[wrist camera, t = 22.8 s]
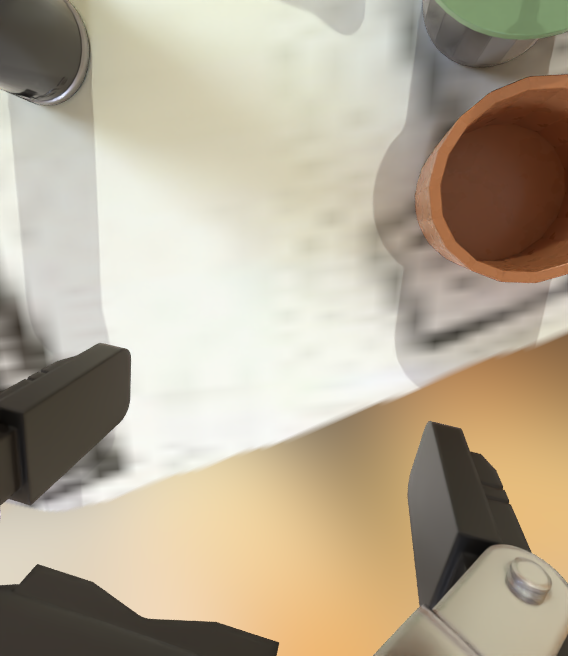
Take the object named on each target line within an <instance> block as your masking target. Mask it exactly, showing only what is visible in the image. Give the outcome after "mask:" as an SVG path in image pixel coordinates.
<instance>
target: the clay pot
mask: <svg viewBox="0 0 568 656" xmlns="http://www.w3.org/2000/svg"><path fill="white" fill-rule="evenodd" d="M415 208H416V215H417V221H418V223H419V225H420V228H421V230H422V232H423V234H424V236H425V238H426V239H427V241H428V242H429V244H430V245H431V246H432V247H433V248H434V249H435V250H436V251H438V252H439V253H440V254H441V255H442V256H444V257H445V258H446V259H447V260H450V261H452V262H454V263H456V264H458V265H460V266H462V267H465V268H467V269H469V270H471V271H474V272H476V273H479V274H482V275H484V276H487V277H489V278H492V279H495V280H497V281H500V282H519V283H538V282H542V281H545V280H549V279H552V278H556V277H559V276H563V275H566V274H568V74H564V75H547V76H530V77H526V78H524V79H521V80H519V81H516V82H514V83H512V84H509V85H507V86H504V87H502V88H499V89H497V90H494V91H492V92H491V93H489V94H487V95H486V96H485V97H484V98H483V99H481V100H480V101H479V102H478V103H477V104H475V105H474V106H473V107H472V108H471V109H469V110H468V111H467V112H466V113H465V114H463V115H462V116H461V117H460V118H459V119H458V120H457V121H456V123H455V124H454V125H453V126H452V127H451V129H450V130H449V131H448V132H447V134H446V135H445V136H444V137H443V138H442V140H441V141H440V142H439V143H438V145H437V146H436V147H435V149H434V150H433V152H432V154H431V155H430V156H429V158H428V160H427V161H426V163H425V164H424V166H423V168H422V170H421V173H420V177H419V180H418V183H417V188H416V193H415Z"/></svg>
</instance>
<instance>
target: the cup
mask: <svg viewBox="0 0 568 656" xmlns="http://www.w3.org/2000/svg"><path fill="white" fill-rule="evenodd" d="M423 17H424V22H425V26H426V29H427V32H428V34H429V36H430V38H431V40H432V42H433V43H434V45H435V46H436V47H437V48H438V49H439V51H440V52H441V53H442V54H444V55H445V56H446V57H448V58H449V59H451V60H453V61H455V62H457V63H459V64H462V65H466V66H471V67H489V66H494V65H499V64H502V63H504V62H507V61H509V60H511V59H513V58H516V57H517V56H519V55H520V54H522V53H524V52H525V51H526V50H528V49H529V48H530V47H531V46H533V45H534V44H535V43H536V42H537V41H538V40H539V39H540V38H537V39H527V40H518V39H504V38H498V37H493V36H489V35H486V34H483V33H480V32H477V31H474V30H472V29H470V28H469V27H467V26H465V25H463V24H461V23H459V22H458V21H457V20H455V19H454V18H453V17H452V16H450V15H449V14H448V13H446V12H445V11H444V10H443V8H442V7H441V6H440V5H439V4H438V3H437V2H436V1H435V0H423Z"/></svg>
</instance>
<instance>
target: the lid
mask: <svg viewBox="0 0 568 656" xmlns="http://www.w3.org/2000/svg"><path fill="white" fill-rule="evenodd" d="M435 1H436V2H437V3H438V4H439V5H440V6H441V7H442V8H443V10H444V11H445V12H446V13H448V14H449V15H450V16H452V17H453V18H454V19H455V20H457V21H458V22H459V23H461V24H463V25H465V26H467V27H469V28H470V29H472V30H474V31H477V32H480V33H483V34H486V35H489V36H493V37H498V38H504V39H518V40H527V39H537V38H545V37H549V36H553V35H558V34H562V33H565V32H568V0H435Z"/></svg>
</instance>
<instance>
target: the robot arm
mask: <svg viewBox="0 0 568 656" xmlns="http://www.w3.org/2000/svg"><path fill="white" fill-rule="evenodd" d="M88 63H89V41H88V36H87V32H86V29H85V26H84V23H83V21H82V19H81V17H80V15H79V13H78V12H77V10H76V9H75V8H74V6H73V5H72V4H71V3H70V2H69V1H68V0H0V89H2V90H4V91H6V92H9V93H11V94H13V93H14V94H13V95H15V94H16V95H15V96H17V95H19V96H18V97H20V96H21V97H20V98H22V97H23V98H22V99H24V98H25V100H27V101H29V102H31V101H32V103H34V102H35V103H34V104H36V103H38V104H42V105H55V104H59V103H62V102H64V101H66V100H67V99H69V98H70V97H71V96H72V95H73V94H74V93H75V92H76V91H77V90H78V89H79V87H80V86H81V84H82V82H83V80H84V78H85V75H86V72H87V68H88ZM38 104H37V105H38ZM130 381H131V355H130V352H129V350H128V349H125V348H120V347H116V346H112V345H108V344H104V343H99V344H97V345H95V346H93V347H91V348H90V349H88V350H86V351H84V352H83V353H81V354H79V355H77V356H74V357H70V358H67V359H63V360H60V361H57V362H55V363H53V364H51V365H49V366H48V367H46V368H44V369H42V370H41V372H37V373H35V374H33V375H31V376H29V377H28V379H27V380H26V379H24V380H22V381H20V382H18V383H17V384H15V385H13V386H11V387H9V388H8V389H6V390H4V391H2V392H0V505H1V504H3V503H4V502H5V501H6V500H7V499H11V500H14V501H18V502H21V503H24V504H28V505H32V504H33V503H34V502H35V501H36V500H37V499H38V498H39V497H40V496H41V495H42V494H43V493H44V492H46V491H47V490H48V489H49V488H50V487H51V486H52V485H53V484H54V483H55V482H56V481H57V480H58V479H60V478H61V477H62V476H63V475H64V474H65V473H66V472H67V471H68V470H69V469H70V468H71V467H72V466H74V465H75V464H76V463H77V462H78V461H79V460H80V459H81V458H82V457H83V456H84V455H85V454H86V453H88V452H89V451H90V450H91V449H92V448H93V447H94V446H95V445H96V444H97V443H98V442H99V441H100V440H102V439H103V438H104V437H105V436H106V435H107V434H108V433H109V432H110V431H111V430H112V429H113V428H114V427H116V426H117V425H118V424H119V423H120V422H121V421H122V419H123V418H124V416H125V415H126V413H127V410H128V407H129V403H130ZM408 505H409V514H410V523H411V532H412V541H413V550H414V560H415V569H416V578H417V587H418V596H419V605H420V607H419V608H418V609H417V610H416V611H415V612H414V613H413V614H412V615H411V616H410V617H409V618H408V619H407V620H406V621H405V622H404V623H403V624H402V625H401V627H400V628H399V629H398V630H397V631H396V632H395V633H394V634H393V635H392V636H391V637H390V638H389V639H388V640H387V641H386V642H385V644H383V646H382V647H381V648H380V649H379V650H378V651H377V652H376V653H375V654H374V655H373V656H568V583H567V582H566V581H565V580H564V579H563V577H562V576H561V575H560V574H559V573H558V572H557V571H556V570H555V569H553V568H552V567H551V566H550V565H549V564H548V563H546V562H545V561H544V560H542V559H541V558H539V557H537V556H536V555H534V554H532V553H531V550H530V548H529V546H528V543H527V541H526V539H525V536H524V534H523V532H522V530H521V527H520V525H519V522H518V520H517V518H516V515H515V513H514V511H513V509H512V506H511V505H510V504H509V499H508V497H507V495H506V492H505V490H503V485H502V483H501V481H500V478H499V476H498V474H497V472H496V470H495V469H494V468H493V467H492V466H491V465H490V463H489V462H488V461H487V460H486V459H485V458H484V457H483V456H482V455H481V454H478V453H474V452H470V451H469V448H468V445H467V442H466V440H465V437H464V434H463V431H462V429H461V428H457V427H453V426H448V425H444V424H440V423H436V422H431V421H429V422H428V423H427V425H426V427H425V429H424V432H423V435H422V439H421V442H420V445H419V448H418V451H417V454H416V457H415V460H414V464H413V467H412V470H411V474H410V478H409V484H408ZM0 519H1V511H0ZM278 646H279V642H276V641H273V640H270V639H267V638H264V637H260V636H257V635H254V634H251V633H248V632H245V631H242V630H239V629H236V628H233V627H230V626H226V625H224V624H220V623H217V622H204V621H182V620H160V619H159V620H158V619H147V618H144V617H141V616H140V615H138V614H136V613H135V612H134V611H132V610H131V609H129V608H128V607H127V606H125V605H124V604H123V603H121V602H120V601H118V600H117V599H116V598H114V597H113V596H111V595H110V594H109V593H107V592H106V591H105V590H103V589H102V588H100V587H99V586H97V585H96V584H95V583H93V582H91V581H88V580H85V579H81V578H79V577H76V576H73V575H69V574H66V573H63V572H60V571H57V570H54V569H51V568H48V567H45V566H42V565H39V564H37V565H36V566H35V567H34V568H33V569H32V571H31V572H30V573H29V574H28V575H27V576H26V577H25V579H24V580H23V581H22V582H21V583H20V584H13V585H0V656H276V655H277V651H278Z"/></svg>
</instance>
